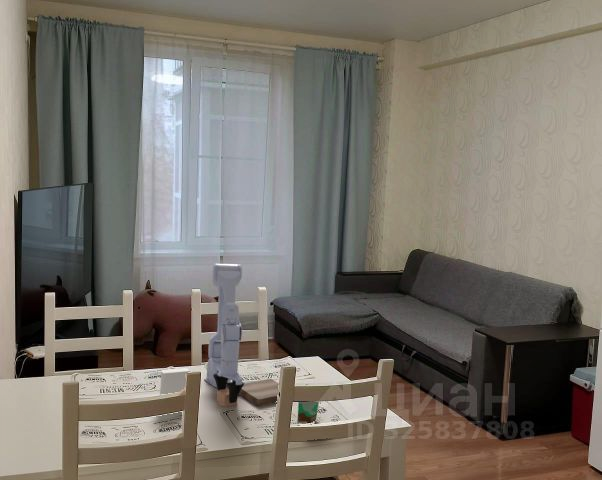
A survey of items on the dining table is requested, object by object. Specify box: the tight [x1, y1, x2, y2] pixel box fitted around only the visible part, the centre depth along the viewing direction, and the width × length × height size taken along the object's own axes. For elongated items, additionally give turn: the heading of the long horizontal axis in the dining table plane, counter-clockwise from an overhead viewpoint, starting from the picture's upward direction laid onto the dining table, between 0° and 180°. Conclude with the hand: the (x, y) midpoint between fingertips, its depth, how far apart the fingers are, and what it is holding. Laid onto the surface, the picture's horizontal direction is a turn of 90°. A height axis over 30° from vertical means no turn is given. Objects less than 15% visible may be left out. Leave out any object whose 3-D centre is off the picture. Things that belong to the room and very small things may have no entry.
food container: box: [296, 384, 320, 423], centre depth 194 cm, size 12×6×10 cm, turn 168°
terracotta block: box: [216, 388, 238, 408], centre depth 204 cm, size 5×5×4 cm
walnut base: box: [238, 378, 280, 407], centre depth 213 cm, size 15×15×2 cm
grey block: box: [159, 367, 191, 396], centre depth 198 cm, size 9×9×12 cm
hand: (227, 398), depth 204 cm, fingers open, 7 cm apart
